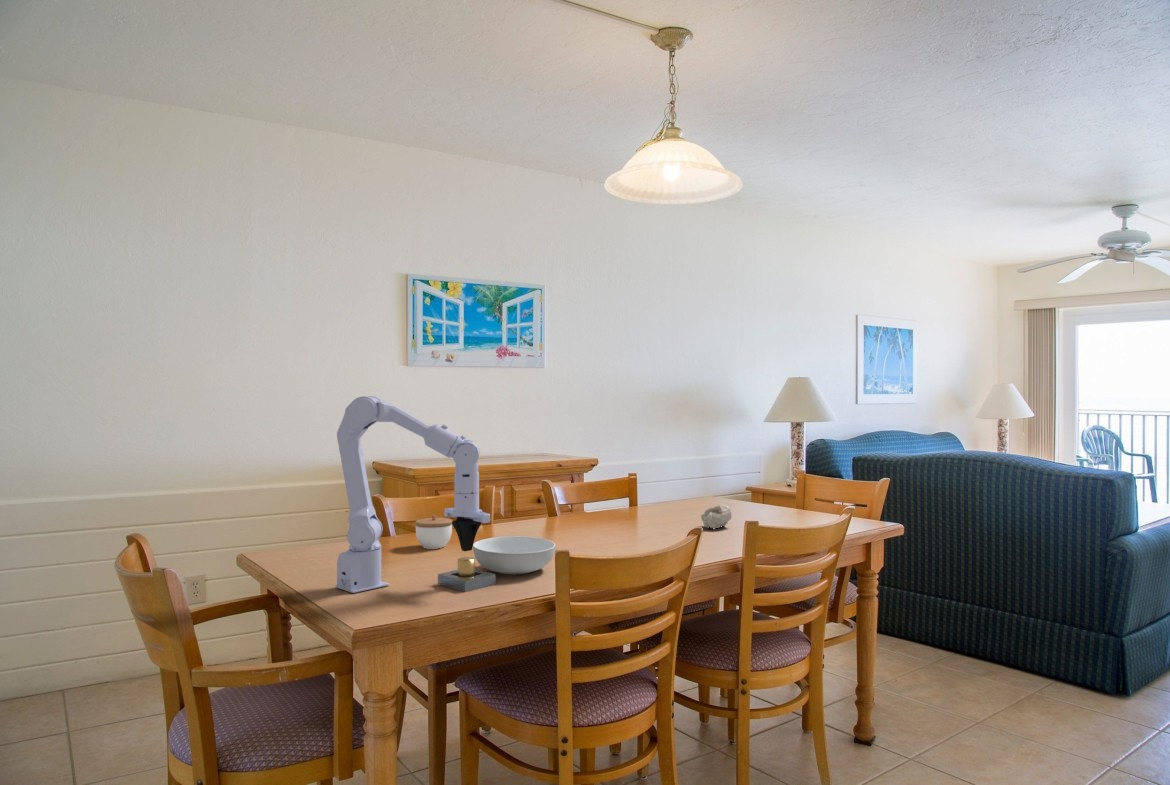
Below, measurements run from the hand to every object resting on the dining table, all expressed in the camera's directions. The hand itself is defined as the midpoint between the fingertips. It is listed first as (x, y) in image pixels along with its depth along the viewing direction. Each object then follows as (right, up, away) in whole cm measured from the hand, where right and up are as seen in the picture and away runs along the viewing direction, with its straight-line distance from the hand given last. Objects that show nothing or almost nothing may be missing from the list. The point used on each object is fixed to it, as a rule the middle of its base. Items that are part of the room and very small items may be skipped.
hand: (466, 550), depth 176 cm
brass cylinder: (0, -8, 0) cm, 8 cm away
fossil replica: (+72, -9, +75) cm, 104 cm away
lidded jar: (-16, -8, +43) cm, 47 cm away
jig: (0, -8, 0) cm, 8 cm away
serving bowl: (+10, -8, +14) cm, 19 cm away
